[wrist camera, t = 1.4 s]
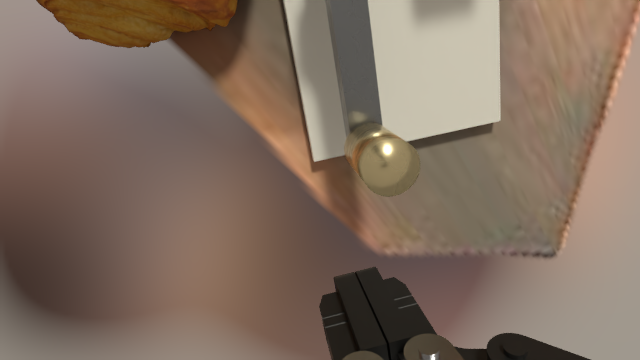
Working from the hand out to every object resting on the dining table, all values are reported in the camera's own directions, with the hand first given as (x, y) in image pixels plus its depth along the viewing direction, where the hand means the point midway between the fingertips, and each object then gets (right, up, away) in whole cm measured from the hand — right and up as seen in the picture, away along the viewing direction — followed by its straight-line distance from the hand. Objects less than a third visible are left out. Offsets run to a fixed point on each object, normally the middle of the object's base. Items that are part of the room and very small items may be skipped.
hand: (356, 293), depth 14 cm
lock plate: (+6, +17, +19) cm, 26 cm away
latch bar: (+1, +13, +14) cm, 19 cm away
